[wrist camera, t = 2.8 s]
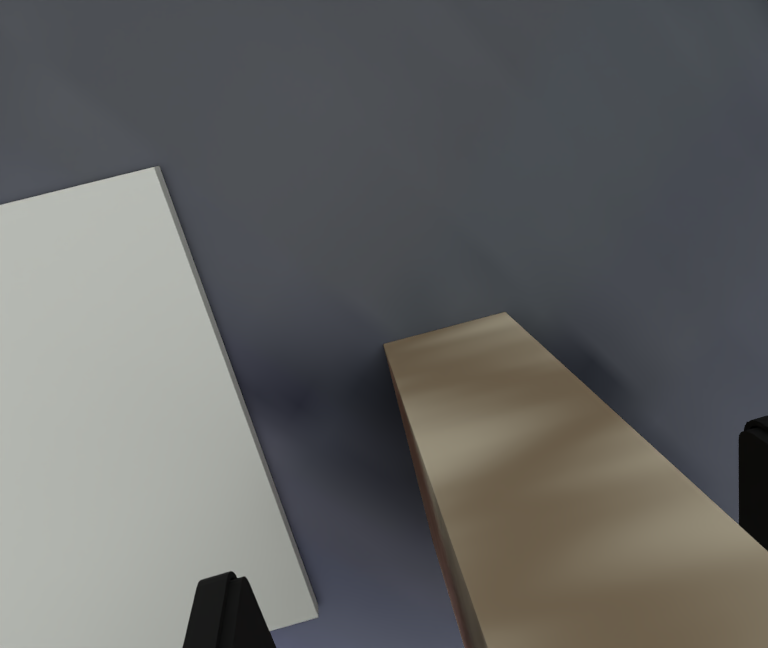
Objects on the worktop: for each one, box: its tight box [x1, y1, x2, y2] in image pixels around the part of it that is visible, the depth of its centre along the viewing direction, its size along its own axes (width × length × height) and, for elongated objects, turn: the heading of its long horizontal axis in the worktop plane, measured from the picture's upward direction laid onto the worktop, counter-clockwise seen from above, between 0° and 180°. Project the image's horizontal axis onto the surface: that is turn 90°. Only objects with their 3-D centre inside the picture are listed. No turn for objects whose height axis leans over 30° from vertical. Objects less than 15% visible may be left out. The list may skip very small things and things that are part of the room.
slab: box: [383, 312, 768, 648], centre depth 9 cm, size 3×6×10 cm, turn 13°
